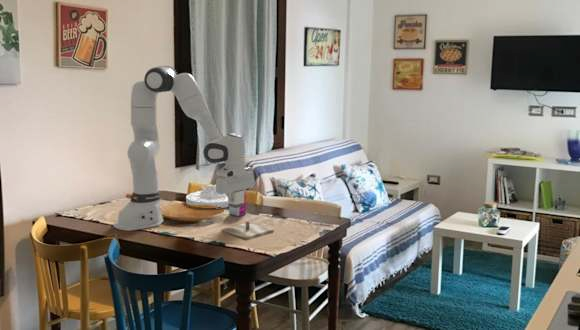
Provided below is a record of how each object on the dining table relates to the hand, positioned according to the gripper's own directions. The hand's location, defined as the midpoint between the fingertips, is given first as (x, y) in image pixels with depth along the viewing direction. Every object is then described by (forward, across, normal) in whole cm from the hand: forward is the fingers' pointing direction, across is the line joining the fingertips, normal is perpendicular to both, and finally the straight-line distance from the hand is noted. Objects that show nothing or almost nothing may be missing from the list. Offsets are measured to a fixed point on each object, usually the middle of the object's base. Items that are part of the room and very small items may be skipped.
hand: (236, 200), depth 281 cm
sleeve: (+3, 0, 0) cm, 3 cm away
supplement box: (+11, -11, -12) cm, 20 cm away
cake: (+12, -19, -40) cm, 46 cm away
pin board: (+11, +4, +12) cm, 17 cm away
